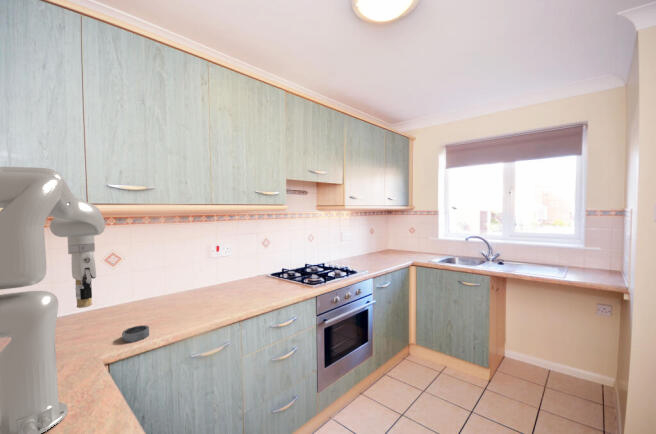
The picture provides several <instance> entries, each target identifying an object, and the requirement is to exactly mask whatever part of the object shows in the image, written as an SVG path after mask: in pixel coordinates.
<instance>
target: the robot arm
mask: <svg viewBox="0 0 656 434" xmlns="http://www.w3.org/2000/svg"><path fill="white" fill-rule="evenodd" d="M0 209H1V210H0V291H1V290H10V289H19V288H24V287H30V286H34V285H37V284H39V283H41V282H42V281H43V280H44V278H45V277H46V274H47V252H46V239H45V236H46V235H45V225H46V220H47V219H48V218H49V217H52V218H53V219H51V221H50V223H49V230H50V232H51V233H52V234H53V235H54V236H56V237H58V238H66V239H67V254H68V255H71V257H70V259H71V277H72V279H74V280H76V279H77V280H80V282H81V289H80V299H81V300H84V299H89V298H93V293H92V292H93V291H92V290H93V289H92V288H93V287H92V281H93V279H96V278H97V270H96V269H97V268H96V262H95V261H96V259H95V255H94V253H95V251H96V247H95V236H100V235H101V234H103V233H104V231H105V229H106V222H105V219H104V216H103V214H102V213H101V211H100V209H99V207H97V206H96V205H94V204H92V203H90V202H88V201H85V200H83V199H80V198H79V197H75V196H74V194H73V193H72V191H71V189H70V187H69V186H68V184H67V182H66V181H65V179H64V177H63V176H62V175H61V173H60V172H58V171H56V170H54V169H51V168H47V167H32V166H31V167H30V166H28V167H26V166H0ZM90 274H91V275H90ZM75 276H76V278H75ZM82 277H83V278H86V279H85V280H82V279H83V278H82ZM84 281H86V282H84ZM83 282H84V284H83ZM75 286H76V283H75ZM58 312H59V300H58V298H57V296H56V295H55V294H54V293H52V292H50V291H46V290H26V291H20V292H10V293H3V294H0V339H4V338H10V340H9V342H8V343H7V344H6V345H5V347H3V348H2V349H1V351H0V434H41V433H43V432H45V431H46V432H47V430H48V429H50V428H51V427H53V426H54V425H56V424H57V423H58V424H59V423H61V422H62V421H63V419H65V417H66V416H67V415H68V411H69V410H68V405H67V404H66V403H65V402H59V401H60V400H59V386H58V385H59V384H58V369H57V368H58V367H57V366H58V365H57V353H56V325H57V319H58ZM66 414H67V415H66ZM61 420H62V421H61ZM60 421H61V422H60ZM58 424H57V425H58ZM57 425H56V426H57ZM54 427H55V426H54ZM54 427H53V428H54ZM51 429H52V428H51ZM51 429H50V430H51ZM48 431H49V430H48ZM46 432H45V433H46ZM43 434H44V433H43Z"/></svg>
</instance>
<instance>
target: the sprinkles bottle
mask: <svg viewBox="0 0 656 434" xmlns="http://www.w3.org/2000/svg"><path fill="white" fill-rule="evenodd" d="M90 275H91V274H90ZM75 278H76V276H75ZM82 278H83V277H82ZM85 279H86V278H83V279H82V280H85ZM84 282H86V281H84ZM84 282H83V284H84ZM75 284H76V285H75V298H76V308H78V309H82V308H87V307H91V306H92V305H93V299H92V298H93V297H92V298H89V299H84V300H81V299H80V289H81V282H80V280H77V279H75Z"/></svg>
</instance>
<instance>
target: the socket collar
mask: <svg viewBox="0 0 656 434" xmlns="http://www.w3.org/2000/svg"><path fill="white" fill-rule="evenodd" d="M121 337H122V339H121V342H123V343H125V344H126V343H128V344H129V343H130V344H131V343H136V342H140V341H142V340H146V339H147V338H149V337H150V326H148V325H147V324H146V325H145V324H144V325H137V326H136V325H135V326H132V327H129V328H125V330H123V331H122V333H121Z"/></svg>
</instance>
